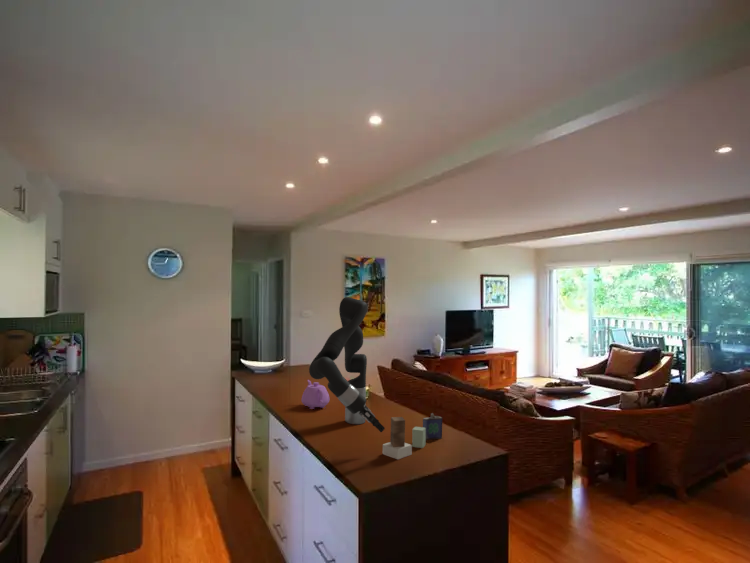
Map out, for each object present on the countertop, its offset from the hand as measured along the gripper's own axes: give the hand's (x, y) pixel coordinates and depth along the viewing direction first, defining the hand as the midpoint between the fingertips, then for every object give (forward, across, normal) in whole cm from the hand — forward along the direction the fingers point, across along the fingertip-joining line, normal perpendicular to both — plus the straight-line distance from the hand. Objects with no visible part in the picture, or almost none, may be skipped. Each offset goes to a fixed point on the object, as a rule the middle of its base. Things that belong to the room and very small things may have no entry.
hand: (379, 427), depth 162 cm
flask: (+28, +15, -12) cm, 34 cm away
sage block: (+21, +8, -6) cm, 23 cm away
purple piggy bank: (-2, +83, +17) cm, 84 cm away
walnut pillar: (+10, 0, 0) cm, 10 cm away
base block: (+13, 0, +3) cm, 13 cm away
